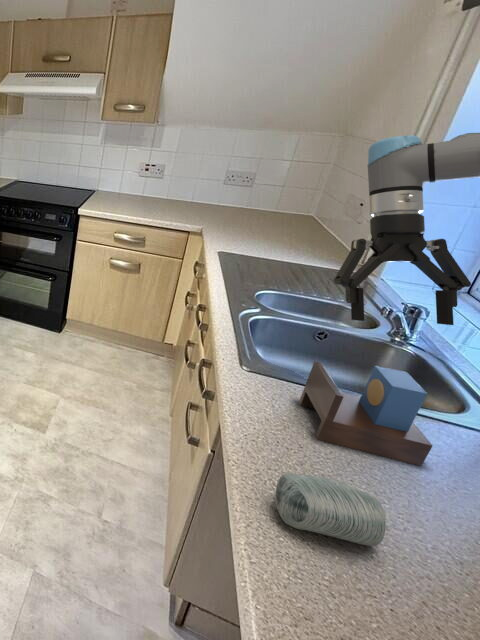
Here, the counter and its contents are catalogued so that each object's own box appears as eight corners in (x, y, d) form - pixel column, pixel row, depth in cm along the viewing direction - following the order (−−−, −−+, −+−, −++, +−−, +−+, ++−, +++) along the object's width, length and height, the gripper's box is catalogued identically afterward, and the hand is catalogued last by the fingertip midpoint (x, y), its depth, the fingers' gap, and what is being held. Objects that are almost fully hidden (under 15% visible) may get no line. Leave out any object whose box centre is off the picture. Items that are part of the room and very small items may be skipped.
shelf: (389, 423, 87) (410, 380, 83) (421, 466, 77) (447, 419, 73) (298, 402, 93) (314, 361, 89) (317, 439, 83) (335, 395, 79)
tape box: (390, 408, 84) (408, 372, 81) (408, 432, 78) (428, 393, 75) (357, 401, 86) (373, 365, 83) (373, 424, 80) (391, 386, 77)
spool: (282, 529, 61) (308, 467, 62) (255, 500, 71) (278, 446, 71) (389, 584, 58) (416, 518, 58) (345, 546, 67) (369, 489, 67)
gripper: (330, 213, 82) (334, 319, 81) (496, 210, 75) (503, 328, 74) (311, 219, 90) (314, 317, 88) (461, 217, 82) (466, 324, 81)
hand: (400, 322), depth 81 cm, fingers open, 13 cm apart
